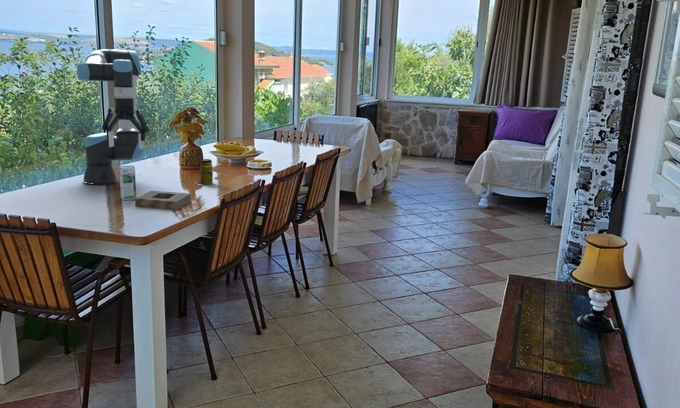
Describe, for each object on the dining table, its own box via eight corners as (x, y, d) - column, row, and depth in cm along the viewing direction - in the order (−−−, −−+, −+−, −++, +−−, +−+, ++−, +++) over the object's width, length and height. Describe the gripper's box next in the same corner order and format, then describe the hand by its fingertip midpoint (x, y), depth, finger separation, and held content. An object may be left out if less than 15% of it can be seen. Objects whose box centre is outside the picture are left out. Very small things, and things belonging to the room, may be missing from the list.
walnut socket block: (135, 206, 248) (135, 198, 247) (151, 198, 262) (151, 190, 261) (176, 209, 245) (176, 201, 245) (190, 201, 260) (190, 193, 259)
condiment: (215, 184, 294) (215, 160, 291) (199, 185, 290) (198, 161, 287) (210, 181, 300) (209, 158, 297) (193, 182, 296) (193, 159, 293)
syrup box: (122, 200, 256) (121, 167, 253) (120, 197, 261) (119, 165, 258) (136, 199, 259) (135, 167, 255) (134, 196, 264) (132, 164, 260)
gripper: (91, 96, 247) (94, 146, 252) (148, 99, 244) (150, 150, 249) (101, 95, 254) (103, 144, 260) (156, 98, 251) (157, 148, 256)
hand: (126, 147), depth 254 cm, fingers open, 13 cm apart
